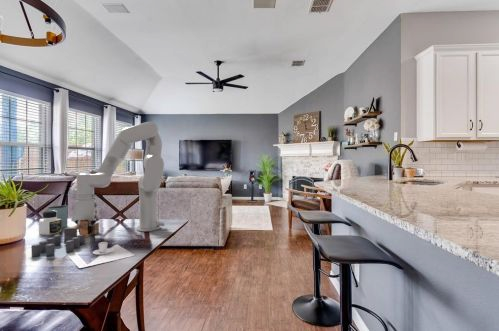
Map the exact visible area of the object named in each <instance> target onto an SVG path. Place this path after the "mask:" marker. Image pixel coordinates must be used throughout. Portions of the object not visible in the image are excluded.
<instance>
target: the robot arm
mask: <svg viewBox="0 0 499 331" xmlns="http://www.w3.org/2000/svg"><path fill="white" fill-rule="evenodd" d="M141 141H145V143H146V144H145V152H144V158H143V161H142V165H143V168H144V173H143V174H142V175H140V177H139V179H138V194H139V195H138V196H139V197H138V198H139V202H138V205H139V207H138V208H139V209H138V210H139V212H138V214H139V216H138V217H139V219H138V221H139V226H136V231H138V232H153V231H157V230H159V229H160V228H161V227H164V226H165V224H166V223H165V222H164V221H160V219H158V191H157V190H159V188H160V187H161V184H162V178H163V174H164V173H163V172H164V167H165V162H164V159H163V158H162V157H161V156H162V148H163V141H162V137H161V136H160V134H159V128H158V126H157V124H156V123H154V122H153V121H146V122H142V123H138V124H136V125H132V126H128V127H124V128H123V129H121V130H120V131H119V133H117V136H116V137H115V139H114V141H113V143H112V145H110V147H109V150H108V151H107V153H106V155H105V158H104V160H103V161H102V163H101V164H100V167H99V168H98V169H97V171H96V173H85V172H84V173H78V174H77V175H76V200H75V202H74V208H73V216H72V218H71V219H70V220H71V222H73V223H75V224H76V225H79V224H80V221H83V220H88V223H89V226H88V234H91V233H92V232H93V225H94V224H95V223H98V221H100V220H101V218H100V216H99V211H98V210H99V209H98V208H99V207H98V202H97V200H96V199H97V198H98V197H97V196H98V195H96V194H95V188H106V187H109V185H110V184H111V182H112V177H113V174H114V173H115V171H116V170H117V168H118V167H119V165H121V164H122V163H123V161H124V160H125V158H126V156H127V154H128V153H129V151H130V149H131V147H132V145H133V144H134V143H139V142H141ZM78 235H80V229H78Z"/></svg>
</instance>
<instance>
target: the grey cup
mask: <svg viewBox="0 0 499 331" xmlns="http://www.w3.org/2000/svg"><path fill="white" fill-rule="evenodd" d="M51 210H55V211H57V218H56V219H61V229H64V228H68V213H69V206H68V205H66V204H64V205H54V206H53V205H52V206H48V207H46V211H51Z"/></svg>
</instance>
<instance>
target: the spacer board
mask: <svg viewBox="0 0 499 331" xmlns="http://www.w3.org/2000/svg"><path fill="white" fill-rule="evenodd" d="M77 236H78V237H75V238H72V240H69V241H66V244H64V242H62V235H61V234H54V235H52V237H48V238H46V240H42V241H39V243H35V244H32V245H31V256H30V257H28V258H27V260H38V259H39V260H40V259H42V260H43V259H46V260H47V259H63V258H65V257H68V255H67V254H71V253H75V251H76V250H78V249H80V248H82V247H83V246H85V245H86V244H88V242H86V237H85V234H81V235H80V234H77Z"/></svg>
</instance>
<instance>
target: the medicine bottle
mask: <svg viewBox="0 0 499 331" xmlns="http://www.w3.org/2000/svg"><path fill="white" fill-rule="evenodd" d="M56 218H57V211H55V210H51V211H47V210H46V211H43V213H42V220H39V221H38V235H43V236H45V235H46V236H53V235H56V234H58V233H62V228H61V219H56Z"/></svg>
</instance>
